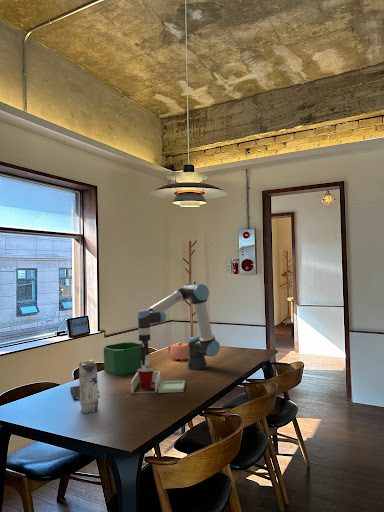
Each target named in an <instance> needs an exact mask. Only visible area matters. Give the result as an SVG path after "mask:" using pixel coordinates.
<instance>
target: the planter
mask: <svg viewBox="0 0 384 512" xmlns="http://www.w3.org/2000/svg"><path fill="white" fill-rule="evenodd" d="M141 344H142V343H137V342H132V341H131V342H130V341H128V342H125V341H124V342H119V343H118V342H117V343H114V344H108V345H105V346H104V347H103V369H104V372H106V373H108V374H110V375H114V376H115V375H117V376H119V375H122V376H123V375H129V374H133V373H137V372H138V369H140V368H142V366H141V360H140V359H141Z"/></svg>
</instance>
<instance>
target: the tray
mask: <svg viewBox="0 0 384 512" xmlns="http://www.w3.org/2000/svg"><path fill="white" fill-rule="evenodd" d="M185 386H186V381H185V380H165V381H164V380H163V381H161V382H160V385H159V388H158V390H157V393H158V394H159V393H160V394H162V393H163V394H165V393H184V392H185V391H184V390H185Z"/></svg>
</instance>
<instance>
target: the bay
mask: <svg viewBox="0 0 384 512" xmlns="http://www.w3.org/2000/svg"><path fill="white" fill-rule="evenodd" d="M161 379H162V378H161V371H160V370H159V371H158V370H157V371H153V376H152V382H151V384H152V383H154V389H155V390H154V391H135V390H136V388H137V386H138V385H139V384H141V382H140V377H139V372H138V371H137V372H135V375H134V376H133V378H132V379H131V381H130V391H131V392H130V394H132V395H133V394H152V393H153V394H157V393H158V388H159V385H160V383H161Z"/></svg>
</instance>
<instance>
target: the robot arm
mask: <svg viewBox="0 0 384 512" xmlns="http://www.w3.org/2000/svg"><path fill="white" fill-rule="evenodd" d="M209 290H210V289H209V288H208V287H207V286H206V285H205V284H203V283H186V284H184V285H182V286H180V287H179V288H176V289H175V290H174V291H173V293H172V294H169V295H168V296H167V297H165V298H163V299H162V300H160V301H159V302H156V303H155V304H153V305H152V306H150V307H149V308H147V309H141V310H138V312H137V322H138V324H137V326H138V327H137V328H138V329H137V331H138V334H139V335H138V341H140V342H141V343H140V344H141V359H140V360H141V366H142V370H146V368H147V366H150V355H151V353H150V349H149V341H151V325H152V324H153V325H154V324H161V323H162V324H163V323H165V322H166V319H167V316H166V313H165V312H166V311H167V310H168V309H170V308H172V307H173V306H175V305H177V304H178V303H182V302H184V301H188V300H190V302H191V304H192V305H193V306H194V311H195V317H196V321H197V325H198V331H199V335H200V336H199V335H198V336H191V337H189V338H188V344H189V357H188V361H187V369H188V370H195V371H196V370H197V371H198V370H204V369H207V368H208V363H207V359H206V356H207V357H215V356H217V355H218V354H219V351H220V350H221V345H220V343H219V341H218V340H216V337H215V335H213V332H212V326H211V322H210V321H211V320H210V318H209V311H208V308H207V302H208V298H209V296H210V291H209Z"/></svg>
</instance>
